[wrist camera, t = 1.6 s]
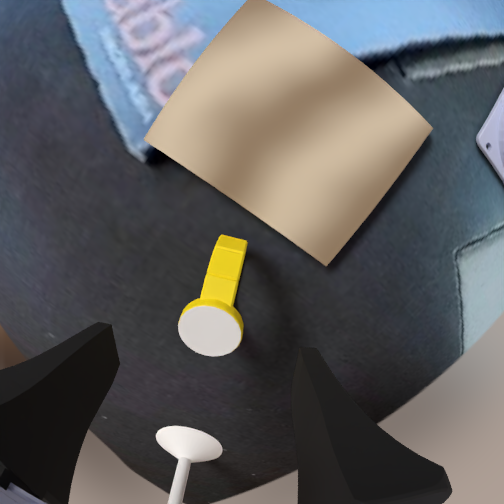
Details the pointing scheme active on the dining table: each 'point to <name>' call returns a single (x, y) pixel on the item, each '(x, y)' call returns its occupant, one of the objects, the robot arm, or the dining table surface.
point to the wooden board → (290, 127)
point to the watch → (216, 303)
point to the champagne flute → (186, 453)
